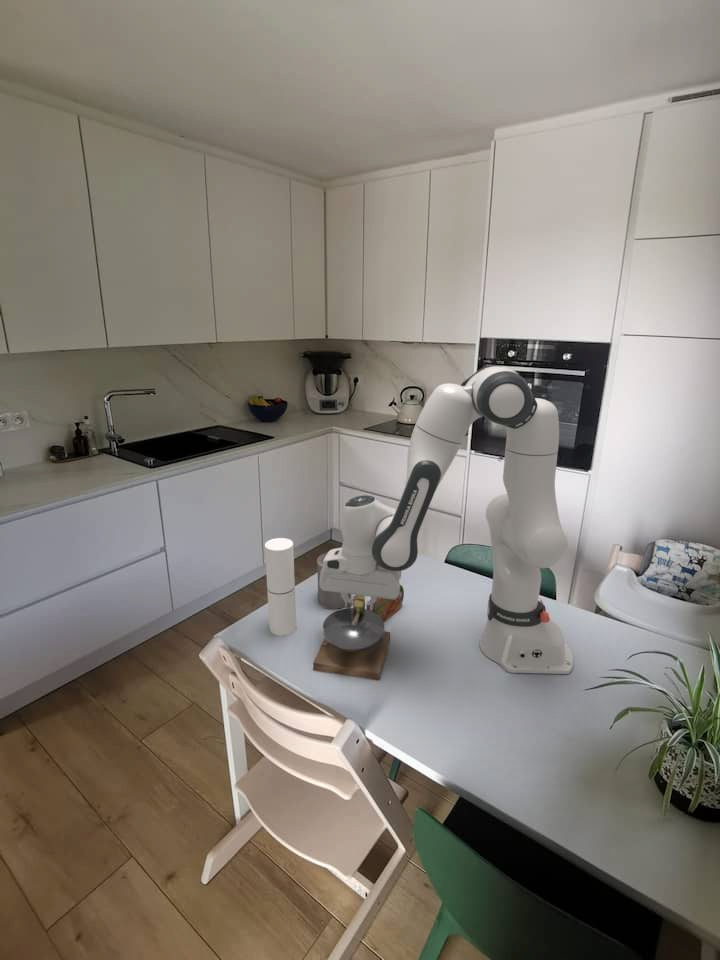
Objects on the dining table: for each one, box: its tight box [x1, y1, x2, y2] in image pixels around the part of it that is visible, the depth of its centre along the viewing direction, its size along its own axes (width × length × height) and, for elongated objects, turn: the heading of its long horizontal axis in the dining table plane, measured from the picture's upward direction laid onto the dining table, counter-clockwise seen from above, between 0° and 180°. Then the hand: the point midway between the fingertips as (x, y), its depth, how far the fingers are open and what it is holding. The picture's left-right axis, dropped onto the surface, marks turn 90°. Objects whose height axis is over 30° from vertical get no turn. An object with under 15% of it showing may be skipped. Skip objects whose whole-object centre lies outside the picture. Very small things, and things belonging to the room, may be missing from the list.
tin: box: [369, 584, 405, 623], centre depth 139 cm, size 15×3×8 cm, turn 143°
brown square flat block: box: [312, 630, 391, 681], centre depth 124 cm, size 16×16×6 cm
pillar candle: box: [316, 552, 352, 610], centre depth 145 cm, size 10×10×15 cm
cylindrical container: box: [264, 537, 297, 637], centre depth 130 cm, size 7×7×25 cm
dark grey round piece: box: [322, 595, 385, 652], centre depth 122 cm, size 15×15×6 cm
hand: (359, 607), depth 127 cm, fingers open, 4 cm apart
